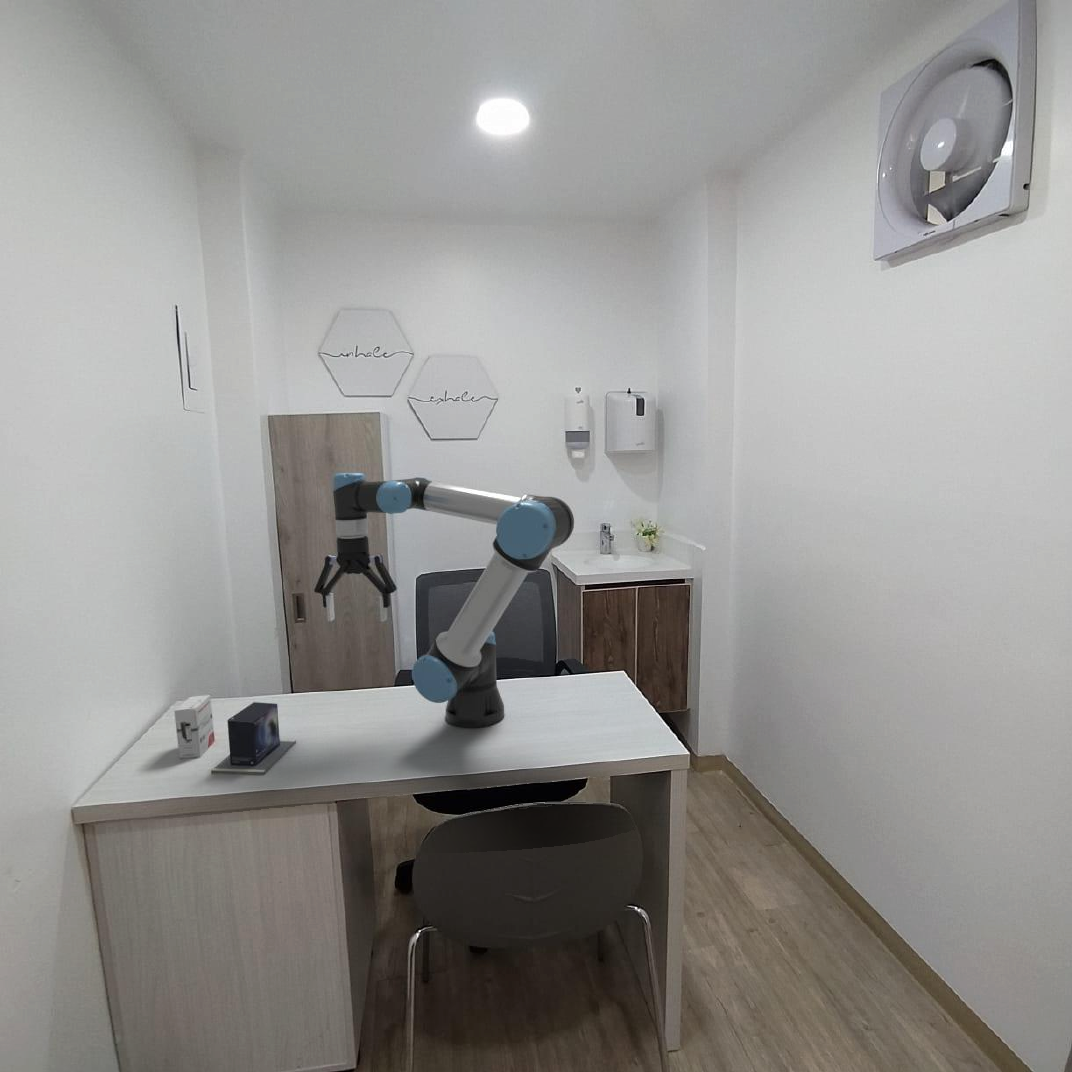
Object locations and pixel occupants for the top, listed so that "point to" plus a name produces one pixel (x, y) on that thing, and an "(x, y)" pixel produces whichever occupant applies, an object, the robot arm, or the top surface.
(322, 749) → the top surface
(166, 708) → the top surface
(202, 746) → the ink box
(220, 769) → the mat
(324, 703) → the top surface
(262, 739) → the small box
